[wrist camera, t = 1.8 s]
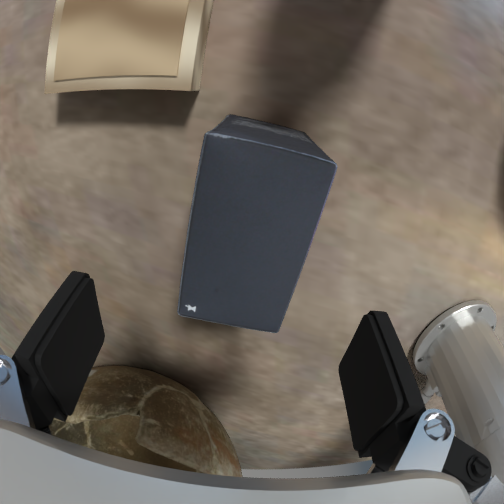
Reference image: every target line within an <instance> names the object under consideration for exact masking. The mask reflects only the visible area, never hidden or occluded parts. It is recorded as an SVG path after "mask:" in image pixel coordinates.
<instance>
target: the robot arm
mask: <svg viewBox="0 0 504 504" xmlns="http://www.w3.org/2000/svg"><path fill="white" fill-rule="evenodd" d="M496 319H497V318H496V313H495V311H494V310H493V308H492V307H491V306H490V305H489V304H488V303H487V302H485V301H481V300H471V301H467V302H463V303H461V304H458V305H456V306H454V307H452V308H451V309H449V310H447V311H445V312H444V313H443V314H441V315H440V316H439V317H437V318H436V319H435V320H434V321H433V322H432V323H431V324H430V325H429V326H428V327H427V328H426V329H425V330H424V332H423V333H422V335H421V336H420V337H419V339H418V341H417V343H416V345H415V348H414V351H413V361H414V364H415V366H416V369H417V370H418V371H419V372H420V373H422V374H424V375H427V378H428V379H427V380H426V385H425V387H423V388H422V390H421V391H419V388H418V385H417V383H416V380H415V378H414V375H413V373H412V370H411V368H410V365H409V363H408V360H407V358H406V355H405V353H404V350H403V348H402V346H401V343H400V341H399V339H398V336H397V334H396V332H395V330H394V327H393V325H392V323H391V321H390V318H389V316H388V314H387V313H386V312H382V311H370V312H369V313H368V314H366V315H364V316H363V318H362V320H361V322H360V324H359V326H358V328H357V330H356V332H355V335H354V337H353V339H352V341H351V343H350V345H349V347H348V349H347V351H346V353H345V354H344V356H343V358H342V360H341V362H340V364H339V376H340V381H341V385H342V390H343V395H344V400H345V405H346V410H347V415H348V420H349V425H350V430H351V436H352V441H353V446H354V449H355V450H356V451H358V453H359V458H362V457H371V456H372V461H373V464H372V466H371V467H370V469H369V471H368V472H367V474H363V475H352V476H339V477H325V478H302V479H271V478H270V479H269V478H247V477H233V476H222V475H212V474H204V473H197V472H190V471H183V470H177V469H171V468H166V467H161V466H156V465H151V464H146V463H142V462H137V461H133V460H129V459H125V458H121V457H117V456H114V455H110V454H107V453H103V452H100V451H97V450H93V449H90V448H87V447H84V446H81V445H78V444H75V443H72V442H69V441H66V440H63V439H60V438H58V437H56V436H55V434H54V431H53V428H52V425H51V424H52V422H53V419H54V418H56V419H58V420H61V421H64V422H66V420H67V417H68V415H69V416H71V415H72V414H73V412H74V410H75V407H76V405H77V402H78V400H79V397H80V395H81V392H82V390H83V388H84V385H85V383H86V381H87V378H88V376H89V374H90V371H91V369H92V367H93V364H94V362H95V360H96V358H97V356H98V353H99V351H100V349H101V347H102V345H103V342H104V337H105V334H104V329H103V325H102V320H101V316H100V311H99V306H98V301H97V296H96V291H95V285H94V281H93V279H91V278H90V276H89V274H87V273H82V272H77V271H72V272H71V273H70V275H69V276H68V277H67V278H66V280H65V281H64V282H63V284H62V285H61V286H60V288H59V289H58V290H57V292H56V293H55V294H54V296H53V297H52V299H51V300H50V301H49V303H48V304H47V305H46V307H45V308H44V310H43V311H42V313H41V314H40V315H39V317H38V318H37V320H36V321H35V323H34V324H33V326H32V327H31V329H30V330H29V332H28V333H27V335H26V336H25V338H24V339H23V341H22V342H21V344H20V346H19V347H18V349H17V350H16V352H15V354H14V355H13V357H12V359H11V358H10V357H8V356H6V355H0V504H504V346H503V345H502V343H501V342H500V340H499V339H498V337H497V335H496V334H495V332H494V330H495V327H496ZM434 393H436V395H437V396H439V397H442V400H443V403H444V405H445V408H446V410H447V413H448V414H446V413H445V412H443V411H441V410H439V409H429V410H427V411H426V408H425V404H426V403H427V402H428V401H429V399H430V398H431V397H432V396H433V394H434ZM454 433H455V435H456V437H455V436H454Z"/></svg>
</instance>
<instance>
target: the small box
mask: <svg viewBox="0 0 504 504" xmlns="http://www.w3.org/2000/svg"><path fill="white" fill-rule="evenodd" d="M336 170H337V164H336V163H335V162H334V161H333V160H332V159H330V158H329V157H328V156H327V155H326V154H325V153H324V152H323V151H322V150H321V149H320V148H319V147H318V146H317V145H316V144H315V143H314V142H313V141H312V140H311V139H310V138H309V137H308V136H307V135H306V133H304V132H302V131H298V130H294V129H291V128H288V127H283V126H280V125H276V124H271V123H267V122H263V121H259V120H255V119H250V118H246V117H241V116H236V115H231V114H230V115H227V116H226V118H225V119H224V120H223V121H222V122H221V123H220V124H218V126H216V127H215V128H214V129H212V130H211V131H208V132H207V133H205V135H204V140H203V145H202V150H201V155H200V160H199V165H198V171H197V176H196V182H195V188H194V194H193V200H192V205H191V212H190V218H189V224H188V231H187V238H186V245H185V253H184V261H183V268H182V275H181V283H180V293H179V302H178V311H177V312H178V314H179V315H180V316H184V317H189V318H194V319H199V320H204V321H209V322H214V323H220V324H225V325H230V326H235V327H241V328H246V329H252V330H258V331H265V332H272V333H277V332H278V331H279V329H280V326H281V324H282V321H283V319H284V316H285V313H286V311H287V308H288V305H289V303H290V300H291V297H292V295H293V292H294V289H295V287H296V284H297V281H298V279H299V276H300V273H301V270H302V268H303V265H304V262H305V260H306V257H307V254H308V251H309V248H310V246H311V243H312V240H313V237H314V234H315V232H316V229H317V226H318V223H319V220H320V217H321V214H322V212H323V209H324V206H325V203H326V200H327V197H328V194H329V191H330V188H331V185H332V182H333V179H334V176H335V173H336Z"/></svg>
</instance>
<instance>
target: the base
mask: <svg viewBox="0 0 504 504" xmlns="http://www.w3.org/2000/svg"><path fill="white" fill-rule="evenodd" d="M213 1H214V0H57V1H56V6H55V11H54V16H53V22H52V28H51V34H50V41H49V49H48V57H47V67H46V79H45V94H50V93H60V92H72V91H86V90H108V89H158V90H181V91H199V90H200V82H201V75H202V68H203V61H204V54H205V48H206V41H207V35H208V29H209V23H210V18H211V12H212V7H213Z"/></svg>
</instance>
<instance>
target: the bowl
mask: <svg viewBox="0 0 504 504" xmlns="http://www.w3.org/2000/svg"><path fill="white" fill-rule="evenodd" d="M51 425H52V428H53V431H54V434H55V436H56V437H58V438H60V439H63V440H66V441H69V442H72V443H75V444H78V445H81V446H84V447H87V448H90V449H93V450H97V451H100V452H103V453H107V454H110V455H114V456H117V457H121V458H125V459H129V460H133V461H137V462H142V463H146V464H151V465H156V466H161V467H166V468H171V469H177V470H183V471H190V472H197V473H204V474H212V475H222V476H233V477H242V472H241V467H240V464H239V460H238V457H237V454H236V451H235V448H234V446H233V444H232V442H231V440H230V438H229V436H228V434H227V432H226V431H225V429H224V427H223V426H222V424H221V423H220V421H219V420H218V419H217V417H216V416H215V415H214V414H213V412H211V411H210V410H209V409H208V408H207V407H206V406H205V405H204V404H203V403H202V402H201V401H200V400H199V398H198V397H197V396H196V395H195V394H194V393H193V392H192V391H190V390H189V389H188V388H186V387H185V386H183V385H181V384H180V383H178V382H176V381H174V380H173V379H170V378H168V377H165V376H163V375H161V374H158V373H155V372H153V371H150V370H145V369H140V368H135V367H129V366H118V365H113V366H98V367H92V369H91V371H90V374H89V376H88V378H87V381H86V383H85V385H84V388H83V390H82V392H81V395H80V397H79V400H78V402H77V405H76V407H75V410H74V412H73V414H72V415H71V416H69V415H68V417H67V420H66V422H64V421H61V420H58V419H56V418H54V419H53V422H52V424H51Z"/></svg>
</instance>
